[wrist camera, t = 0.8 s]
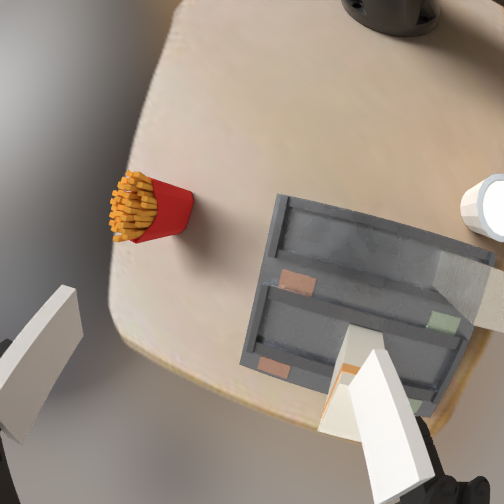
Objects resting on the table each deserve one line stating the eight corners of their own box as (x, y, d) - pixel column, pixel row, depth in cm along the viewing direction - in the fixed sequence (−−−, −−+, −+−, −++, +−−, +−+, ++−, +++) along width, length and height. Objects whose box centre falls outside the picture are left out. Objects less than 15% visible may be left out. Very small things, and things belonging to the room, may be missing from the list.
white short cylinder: (490, 176, 25) (515, 166, 18) (505, 230, 25) (532, 232, 18) (448, 189, 27) (468, 181, 21) (464, 245, 27) (486, 250, 21)
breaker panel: (283, 195, 35) (225, 176, 20) (487, 251, 26) (560, 272, 11) (248, 355, 39) (186, 418, 24) (426, 405, 30) (442, 488, 15)
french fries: (182, 241, 41) (122, 249, 29) (162, 232, 42) (101, 236, 31) (199, 184, 39) (141, 173, 28) (178, 177, 40) (118, 165, 29)
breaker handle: (349, 323, 30) (339, 382, 18) (382, 332, 29) (391, 395, 17) (335, 361, 31) (316, 431, 19) (367, 370, 30) (363, 443, 18)
